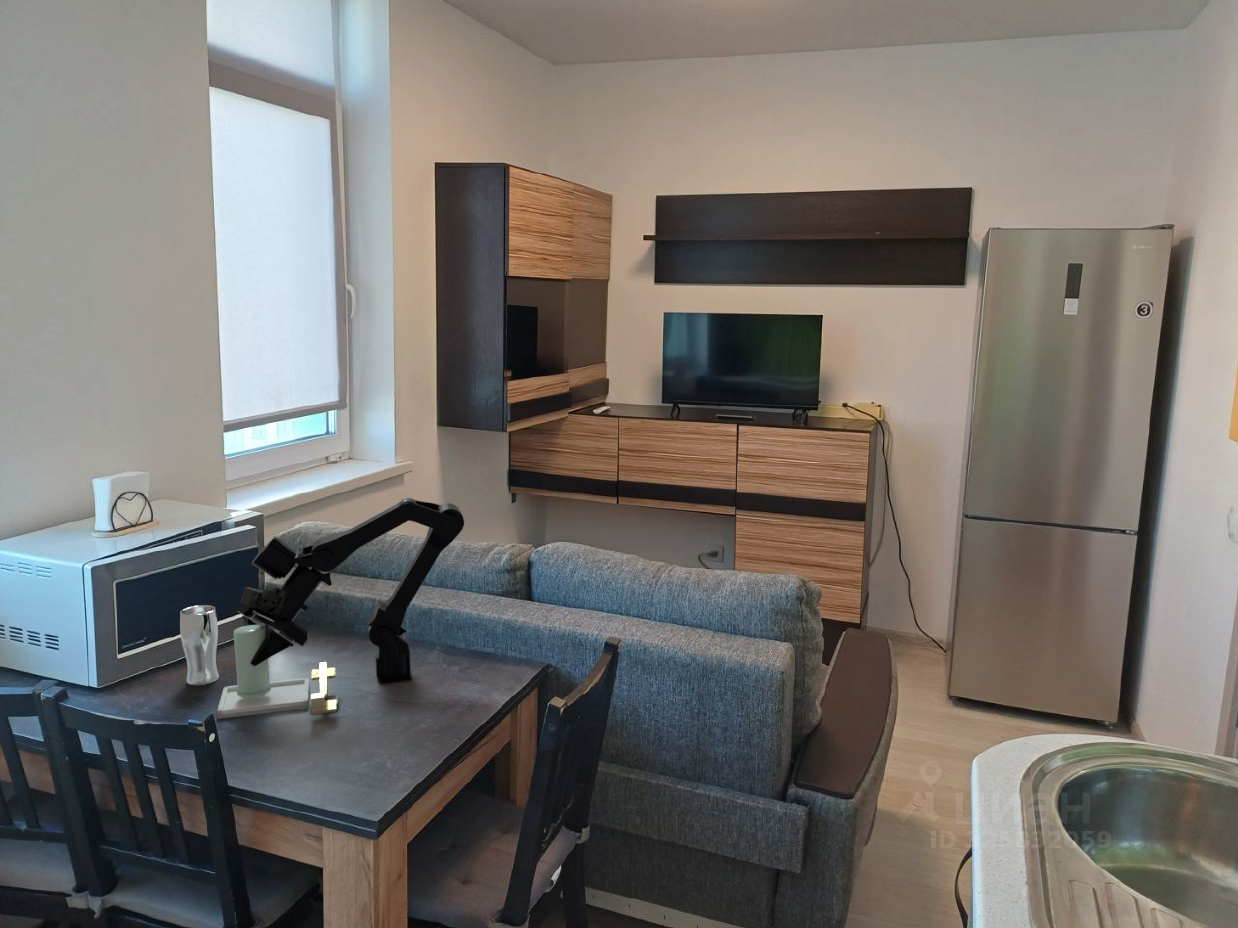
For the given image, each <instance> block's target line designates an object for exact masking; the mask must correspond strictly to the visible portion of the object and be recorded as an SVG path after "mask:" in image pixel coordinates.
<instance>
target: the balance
mask: <svg viewBox="0 0 1238 928" xmlns="http://www.w3.org/2000/svg"><path fill="white" fill-rule="evenodd" d="M335 678H336V667H335V666H334V667H327V662H326V661H324V662H319V668H317V669H316V668H315V669H311V681H318V680H319V692H316V693H310V713H311V715H317V714H324V713H325V714H326V713H327V714H328V713H332V712H333V713H334V712H337V710H339V695H338V694H332V695H329V692H328V691H329V690H328V681H327V680H328V679H335Z"/></svg>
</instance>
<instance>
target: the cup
mask: <svg viewBox="0 0 1238 928" xmlns="http://www.w3.org/2000/svg"><path fill="white" fill-rule="evenodd" d="M264 639H265V626H263V625H248V626H245V625H244V626H240V627H237V628H235V629H234V630H233V641H234V642H233V643H234V644H233V645H234V654H235V655H234V656H235V659H234V660H235V669H236V685H237V687H238V689H237V695H238V696H239V697H242V698H254V697H259V696H263V695H265V694H267V693H269V692H270V691H271V685H270V682H271V680H270V668H269V667H270V666H269V658H268V659H266V660H265V661H263V662H261V663H260V664H258V665H256V666H253V665H252V664H251V661H252V659H253V657H254V655H255V654H256V652H257V650H258V649H259V647H260V645H261V644H262V642H263V641H264Z"/></svg>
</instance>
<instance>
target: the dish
mask: <svg viewBox="0 0 1238 928" xmlns="http://www.w3.org/2000/svg"><path fill="white" fill-rule="evenodd" d="M270 685H271V691H270V692H269V693H267V694H265V695H263V696H259V697H254V698H242V697H239V696H238V695H237V689H238V687H237V684H236V685H229V686H228V685H227V686H224V687H223V690H222V693H221V697H220V700H219V703H218V708H217V720H219V719H227V718H228V719H229V718H236V717H237V718H238V717H246V716H253V715H262V714H270V713H271V714H272V713H277V712H278V713H279V712H285V711H286V712H287V711H297V710H302V709H303V710H305V709H308V708H309V701H310V700H309V698H310V677H301V678H291V679H290V678H289V679H284V680H283V679H281V680H272V681H270Z"/></svg>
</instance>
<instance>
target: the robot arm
mask: <svg viewBox="0 0 1238 928" xmlns="http://www.w3.org/2000/svg"><path fill="white" fill-rule="evenodd" d="M408 521H410V522H414V523H417V524H419V525H421V526H425V527H426V528H427V527H428V529H427V533H426V536H425V539H424V541H423V543H422V544H421V547H420V548H419V549H418V551H417V553H416V555H415V556H414V558H413V559H412V561H411V563H410V565H409V567H408V568H407V570H406V571H405V573H404V574H403V576H402V578H401V580H400V581H399V583H398V585H397V587H395V590H394V591H393V593H392V594H391V596H390V597H389V598H388V599H386V601H385V602H383V601H382V600H380V599H378V600H377V602H376V603H375V604H376V605H375V607H374V609H373V611H372V612H370V613H369V614H368V638H369V641H370V642H371V643H372V644H373V645H374V646H376V647H377V654H375V655H374V657H375V673H376V678H377V679H378V680H379V683H380V684H386V683H397V682H404V681H412V679H413V675H412V671H411V647H410V644H409V637H408V631H407V630H406V629H405V628H404V627H403V623H404V619H405V617H406V613H407V610H408V608H409V606H410V605H411V603H412V601H413V599H414V597H416V595H417V593H418V591H419V589H420V588H421V586H422V585H423V583H424V581H425V579H426V578H427V576H428V575H429V573H430V571H431V569H432V568H433V566H434V565H435V563H436V561H437V560H438V557H440V554H441V553H442V552H443V551H444V550H445V549H446V548H447V547H448V546H449V545H450V544H452V543H453V541H454V540H455V539H456V538H457V537H458V535H460V533H462V530H463V529H464V526H465V519H464V516H463V513H462V511H461V510H460V508H459V506H457V505H455V504H453V503H449V502H448V503H447V502H446V503H443V504H438V503H434V502H427V501H424V500H423V501H422V500H417V499H414V498H411V497H405V498H403V499H401V500H400V501H399V502H398V503H396V504H394V505H392V506H391V507H389V508H387V509H385V510H383V511H382V512H380V513H378V514H376V515H373V516H372V517H369V519H367V520H365V521H363V522H361V523H359V524H357V525H355V526H354V527H352V528H350V529H348V530H347V529H346V530H344V531H338V532H335V533H332V534H329V535H326V536H323V537H320V538H319V539H317V540H316V541H315V542H314V543H313V544H309V545H307V546H304V547H300V548H298V549H296V550H295V549H293V548H291V547H290V546H289V545H288V544H286V543H284V542H283V541H282V540H281V539H280V538H279V537H277V536H273V537H272V539H271V540H270V541H268V543H267V544H266V545H264V546H263V547H262V548H261V550H259V552H258V553H257V555H256V556H255V558H254V559H253V560H252V562H251V565H253V566H254V567H256V568H258V569H259V570H260V571H262V572H264V574H266V575H268V576H269V577H271V578H272V579H273V580H277V579H279V580H280V579H285V578H286V576H288V575H289V573H290V572H291V571H292V569H293V568H294V567H295V568H294V570H293V571H292V572H291V574H290V575H289V576H288V578H287V579H286V580H285V582H284V583H283V584H282V585H281V587H280V588H279V587H277V586H276V587H274V588H273V589H268V588H265V589H263V590H261V589H256V588H252V587H249V586H248V587H247V586H246V587H244V591H243V594H242V596H241V599H240V601H239V603H240V606H239V607H238V608H237V610H236V611H237V612H238V613H239V614H241V615H242V616H241V620H243V624H244V626H248V625H263V626H265V639H264V641H263V642H262V644H261V645H260V647H259V649H258V650H257V652H256V654H255V655H254V657H253V659H252V661H251V664H252V665H253V666H256V665H258V664H260V663H261V662H263V661H265V660H266V659H268V660H269V659H270V658H272V657H273V656H275V655H277V654H279V653H280V652H283V651H284V650H286V649H288V648H290V647H292V648H293V647H294V646H295V645H294V644H296V645H298V646H300V647H302V648H303V647H304V646H305V644H307V641H308V640H309V636H310V635H309V632H308V631H307V630H306V629H304V628H303V627H302V626H300V625H299V624H298V623H296V622H295V621H294V620H295V618H296V617H298V615H299V613H300V612H301V611H303V612H306V611H307V610H308V608H309V606H307V605H306V604H307V602H308V600H310V598H311V597H312V595H313V594H314V592H315V591H316V589H317V588H318V587H319V586H320V584H321V585H323V586H325V587H330V586H332V585H333V583H332V578H331V575H332V573H331V572H330V571H332V570H334V569H336V568H337V567H339V566H340V565H341V564H342V563H344V562H345V561H346V560H347V559H349V558H350V556H351V555H352V554H353V553H355V551H357V550H359V548H362V547H363V546H365V545H367V544H368V543H370V542H372V541H374V540H376V539H378V538H379V537H381V536H383V535H385V534H387V533H389V532H391V531H393V530H394V529H396V528H398V527H399V526H402V525H404V524H405V523H407V522H408ZM293 643H294V644H293Z"/></svg>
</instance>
